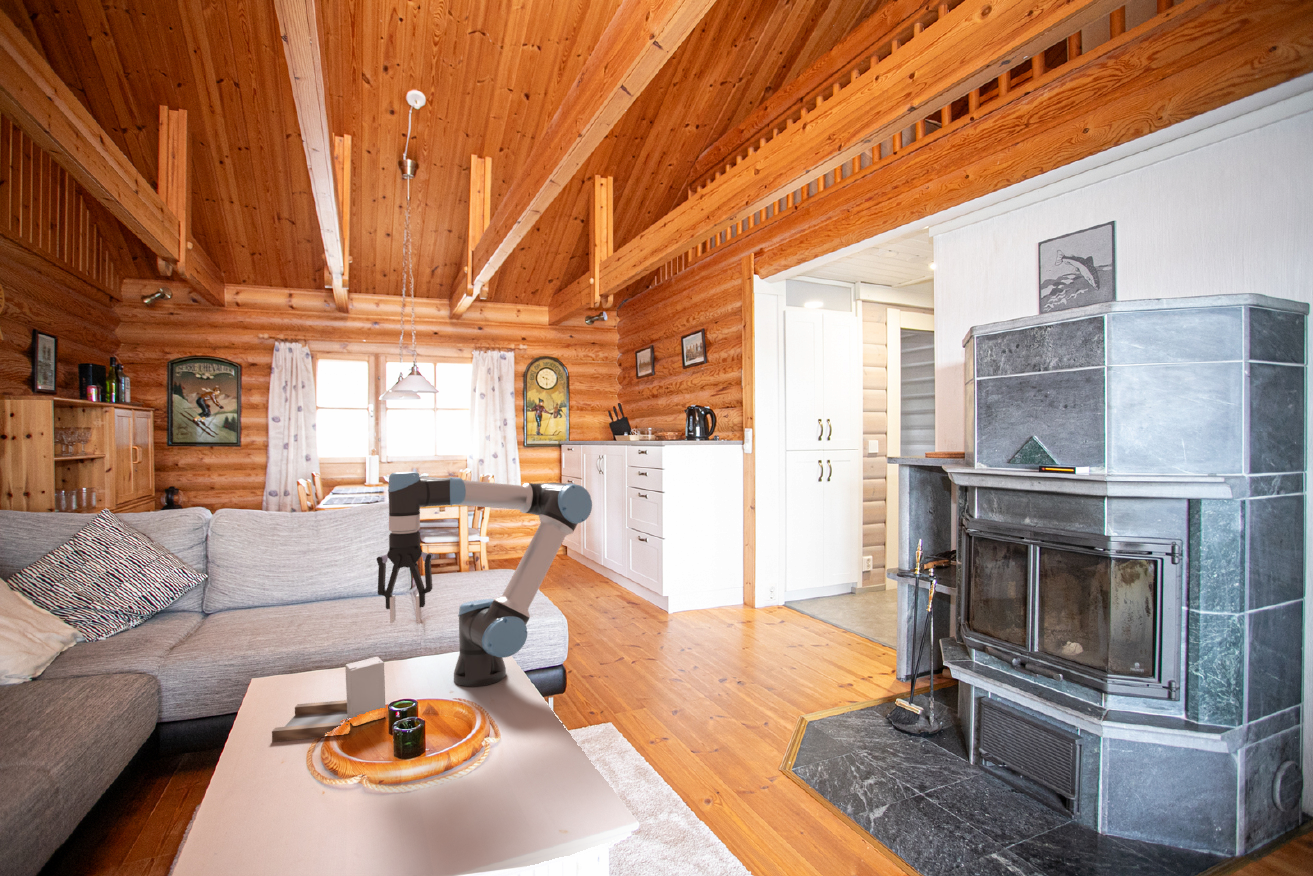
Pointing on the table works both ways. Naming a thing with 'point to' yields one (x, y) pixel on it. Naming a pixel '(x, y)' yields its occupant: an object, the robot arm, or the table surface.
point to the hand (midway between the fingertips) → (405, 620)
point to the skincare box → (365, 686)
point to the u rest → (312, 721)
